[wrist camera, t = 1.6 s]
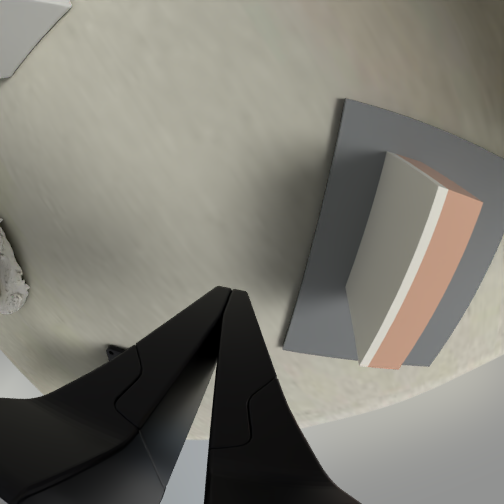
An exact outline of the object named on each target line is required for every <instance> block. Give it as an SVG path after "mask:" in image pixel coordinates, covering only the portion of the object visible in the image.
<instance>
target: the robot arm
mask: <svg viewBox="0 0 504 504" xmlns="http://www.w3.org/2000/svg"><path fill="white" fill-rule="evenodd" d="M106 352H107V355H108V359H109V362H107V363H106V364H104V365H102V366H100V367H99V368H97V369H95V370H93V371H92V372H90V373H88V374H86V375H84V376H82V377H80V378H78V379H76V380H74V381H73V382H71V383H69V384H67V385H65V386H63V387H61V388H59V389H57V390H55V391H53V392H51V393H49V394H47V395H44V396H41V397H37V398H31V399H13V398H12V399H11V398H0V504H160V502H161V500H162V498H163V495H164V492H165V489H166V485H167V483H168V481H169V479H170V476H171V474H172V471H173V469H174V466H175V464H176V462H177V459H178V457H179V454H180V452H181V450H182V447H183V445H184V442H185V440H186V437H187V435H188V433H189V430H190V428H191V425H192V423H193V420H194V418H195V415H196V413H197V411H198V408H199V406H200V403H201V401H202V398H203V396H204V393H205V391H206V388H207V386H208V384H209V381H210V379H211V376H212V374H213V371H214V369H215V366H216V363H217V367H216V376H215V386H214V396H213V406H212V417H211V427H210V438H209V449H208V461H207V472H206V484H205V497H204V504H361V503H360V502H359V501H357V500H356V499H354V498H353V497H351V496H350V495H348V494H347V493H346V492H344V491H343V490H342V489H340V488H339V487H338V486H337V485H336V484H335V483H334V482H333V481H332V480H331V479H330V478H329V477H328V475H327V474H326V473H325V471H324V470H323V468H322V466H321V465H320V463H319V461H318V460H317V458H316V456H315V454H314V453H313V451H312V449H311V447H310V446H309V444H308V442H307V440H306V438H305V437H304V435H303V433H302V431H301V430H300V428H299V426H298V424H297V422H296V420H295V418H294V416H293V414H292V412H291V410H290V408H289V406H288V404H287V401H286V399H285V396H284V394H283V392H282V389H281V386H280V383H279V381H278V379H277V375H276V373H275V370H274V367H273V364H272V361H271V359H270V356H269V353H268V350H267V347H266V344H265V342H264V339H263V336H262V333H261V330H260V327H259V324H258V322H257V319H256V316H255V313H254V310H253V307H252V304H251V301H250V299H249V296H248V293H247V292H246V291H242V290H237V289H233V290H231V288H227V287H222V286H217V287H215V288H214V289H212V290H211V291H209V292H208V293H207V294H205V295H204V296H202V297H201V298H200V299H198V300H197V301H195V302H194V303H192V304H191V305H190V306H188V307H187V308H185V309H184V310H183V311H181V312H180V313H178V314H177V315H176V316H174V317H173V318H171V319H170V320H168V321H167V322H166V323H164V324H163V325H161V326H160V327H159V328H157V329H156V330H154V331H153V332H151V333H150V334H149V335H147V336H146V337H144V338H143V339H142V340H140V341H139V342H137V343H136V345H133V346H131V347H130V348H129V349H127V350H126V351H125V350H122V349H119V348H117V347H114V346H109V347H108V348H107V350H106Z"/></svg>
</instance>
